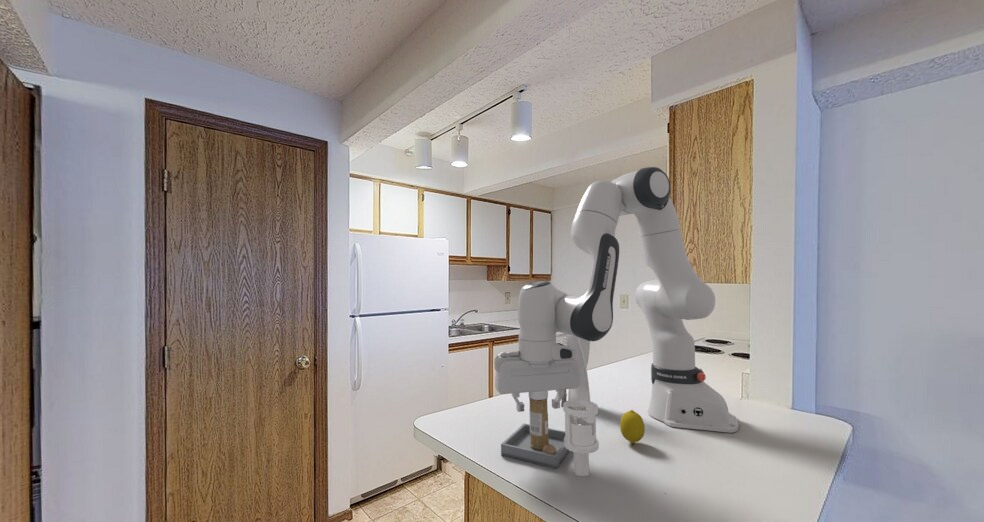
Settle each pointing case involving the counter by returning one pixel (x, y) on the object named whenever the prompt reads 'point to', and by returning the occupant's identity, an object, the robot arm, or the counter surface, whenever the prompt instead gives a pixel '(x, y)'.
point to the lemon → (632, 426)
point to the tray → (521, 449)
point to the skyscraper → (582, 358)
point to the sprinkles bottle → (538, 419)
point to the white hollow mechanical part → (581, 433)
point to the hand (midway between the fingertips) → (538, 409)
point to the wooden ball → (549, 449)
